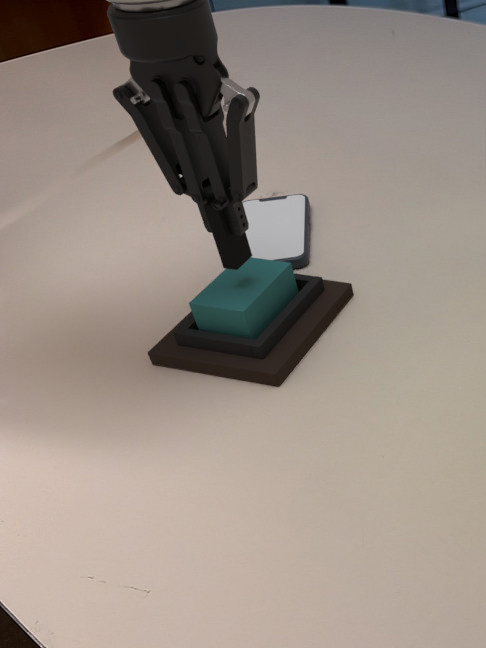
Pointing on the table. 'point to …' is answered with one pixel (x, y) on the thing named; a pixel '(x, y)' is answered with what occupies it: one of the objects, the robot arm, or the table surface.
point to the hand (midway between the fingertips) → (238, 261)
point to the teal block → (245, 298)
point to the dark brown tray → (268, 349)
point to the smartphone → (279, 228)
